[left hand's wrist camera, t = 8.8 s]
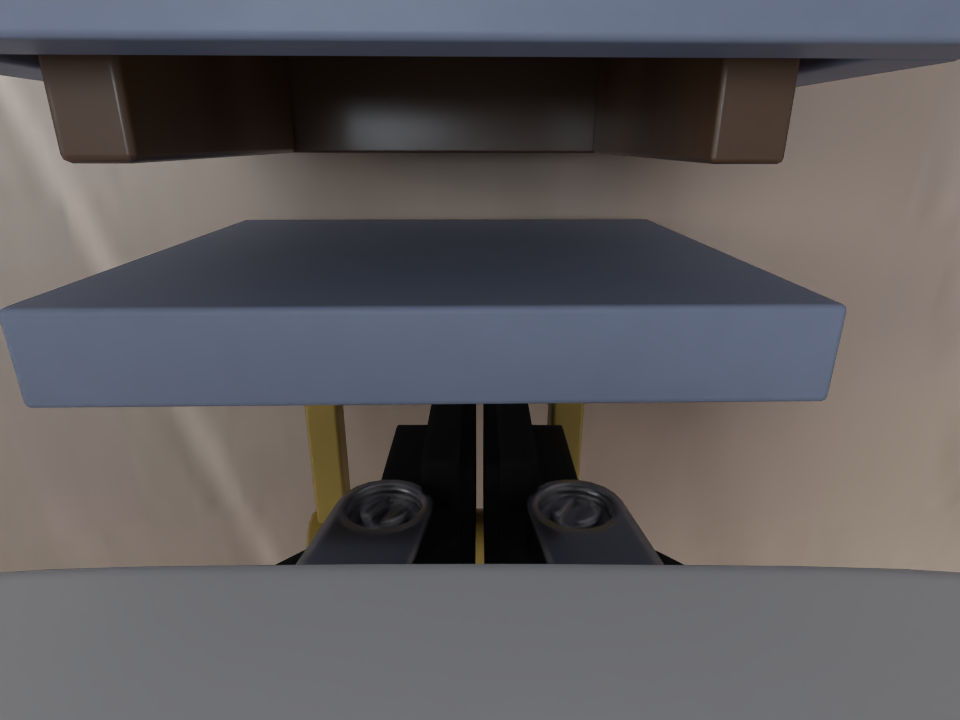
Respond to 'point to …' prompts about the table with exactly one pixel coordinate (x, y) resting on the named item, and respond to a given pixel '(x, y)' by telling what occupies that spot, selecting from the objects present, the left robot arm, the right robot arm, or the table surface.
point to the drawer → (422, 249)
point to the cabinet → (494, 30)
